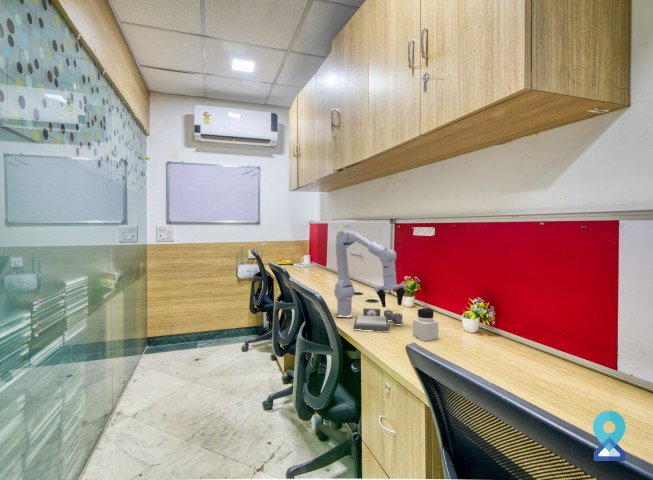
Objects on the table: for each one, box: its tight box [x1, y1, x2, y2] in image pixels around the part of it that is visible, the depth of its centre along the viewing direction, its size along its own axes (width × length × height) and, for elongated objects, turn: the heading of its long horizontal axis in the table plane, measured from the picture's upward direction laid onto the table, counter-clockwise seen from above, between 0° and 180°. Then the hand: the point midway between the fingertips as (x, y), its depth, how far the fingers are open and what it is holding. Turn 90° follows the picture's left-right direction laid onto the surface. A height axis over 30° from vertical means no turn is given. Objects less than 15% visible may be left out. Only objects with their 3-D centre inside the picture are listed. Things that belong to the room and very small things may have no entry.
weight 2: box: [392, 312, 403, 325], centre depth 147 cm, size 4×4×5 cm
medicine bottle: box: [412, 307, 439, 342], centre depth 128 cm, size 7×7×12 cm
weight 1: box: [383, 309, 394, 320], centre depth 154 cm, size 4×4×5 cm
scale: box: [353, 307, 390, 333], centre depth 144 cm, size 17×15×6 cm
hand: (391, 306), depth 142 cm, fingers open, 7 cm apart
